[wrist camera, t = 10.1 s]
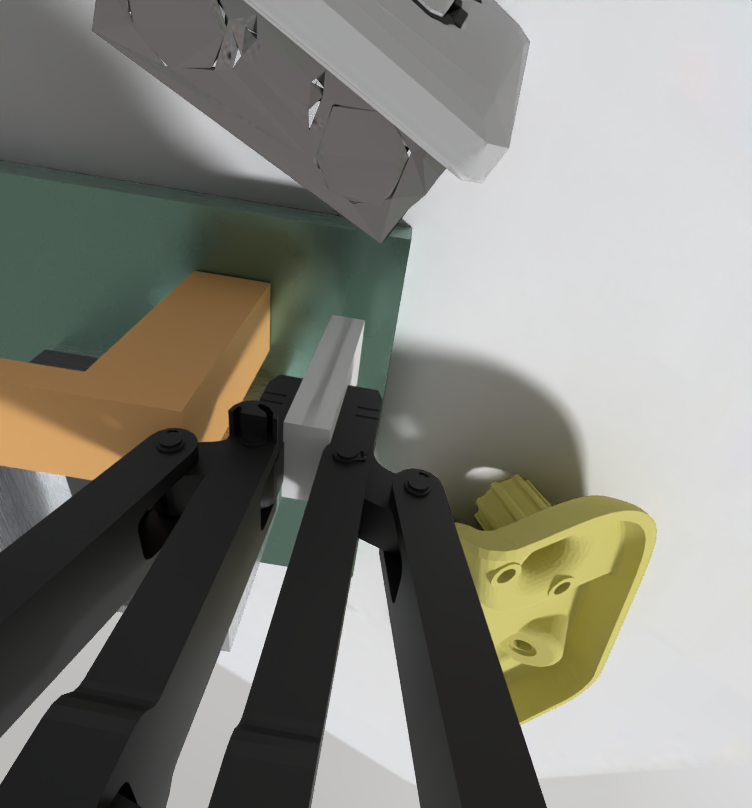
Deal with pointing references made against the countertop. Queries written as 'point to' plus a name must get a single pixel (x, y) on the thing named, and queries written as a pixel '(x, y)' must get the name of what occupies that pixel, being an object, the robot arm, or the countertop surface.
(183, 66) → the electrical switch
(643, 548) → the plastic component
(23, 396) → the block
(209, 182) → the countertop surface
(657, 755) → the countertop surface
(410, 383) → the countertop surface
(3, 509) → the green mounting baseplate
